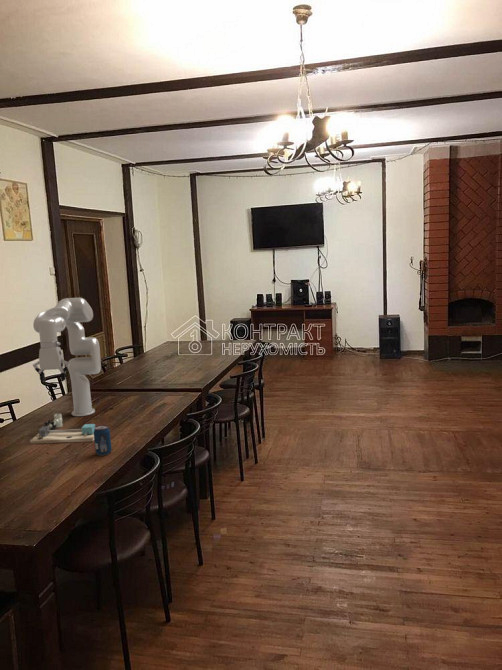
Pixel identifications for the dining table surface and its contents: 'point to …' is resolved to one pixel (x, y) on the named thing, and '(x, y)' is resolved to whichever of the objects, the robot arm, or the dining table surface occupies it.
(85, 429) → the sliding block
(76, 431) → the board
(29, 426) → the dining table surface
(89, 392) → the robot arm
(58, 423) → the valve
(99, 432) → the soda can
